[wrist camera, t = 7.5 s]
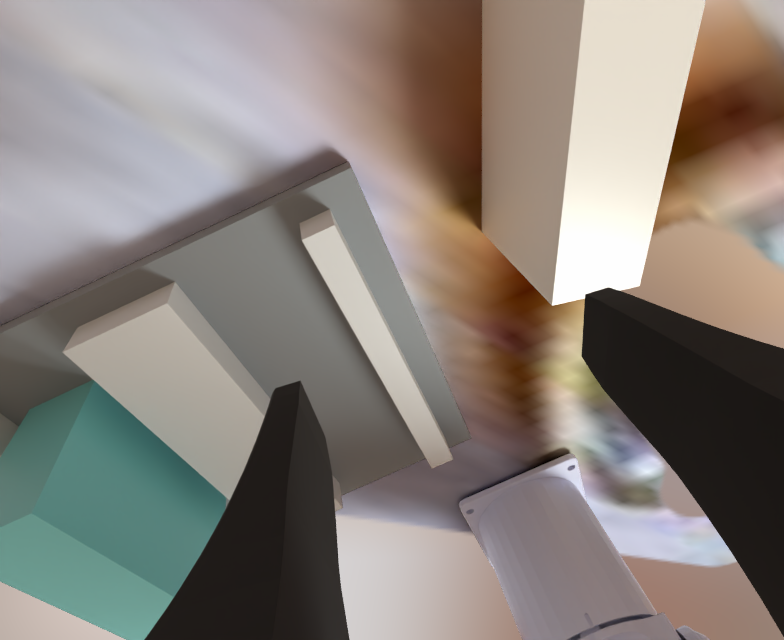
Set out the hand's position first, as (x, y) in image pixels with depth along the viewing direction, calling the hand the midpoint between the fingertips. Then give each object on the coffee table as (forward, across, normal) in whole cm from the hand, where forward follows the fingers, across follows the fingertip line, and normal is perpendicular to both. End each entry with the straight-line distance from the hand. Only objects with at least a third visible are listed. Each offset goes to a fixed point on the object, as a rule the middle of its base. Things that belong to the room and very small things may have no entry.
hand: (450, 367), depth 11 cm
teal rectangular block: (+8, +13, +7) cm, 17 cm away
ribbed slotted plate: (+8, +9, +6) cm, 14 cm away
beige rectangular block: (+9, -6, -3) cm, 11 cm away
